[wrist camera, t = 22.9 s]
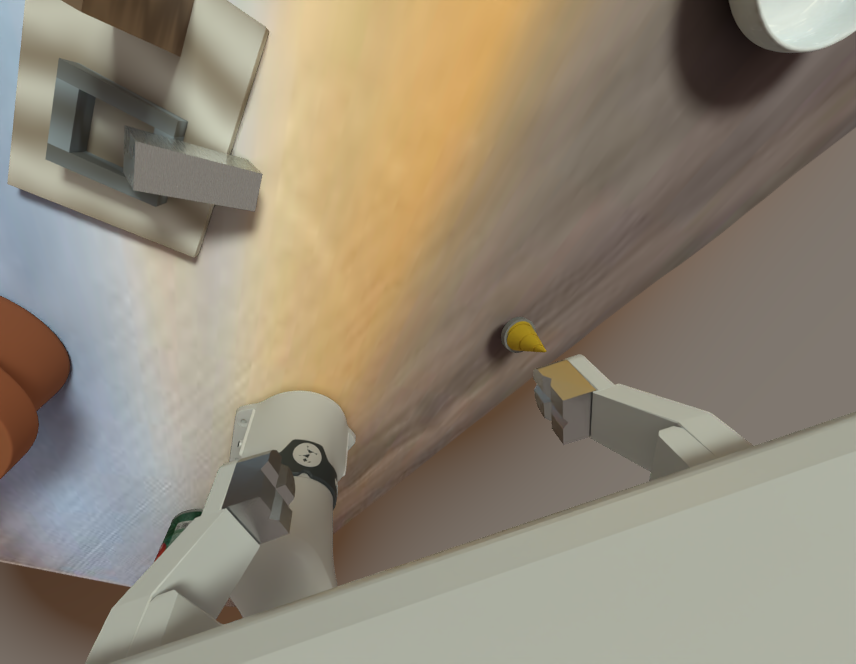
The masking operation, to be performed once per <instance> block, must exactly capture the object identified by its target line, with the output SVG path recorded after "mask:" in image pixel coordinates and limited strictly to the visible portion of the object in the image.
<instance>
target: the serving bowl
mask: <svg viewBox="0 0 856 664" xmlns="http://www.w3.org/2000/svg"><path fill="white" fill-rule="evenodd" d="M729 4H730V8H731V12H732V15H733V17H734V19H735V22H736V23H737V25H738V27H739V29H740V30H741V31H742V33H743V34H744V35H745V36H746V37H747V38H748V39H749V40H750V41H752V42H753V43H754V44H756V45H758V46H760V47H762V48H764V49H767V50H771V51H775V52H782V53H806V52H813V51H817V50H820V49H823V48H826V47H829V46H831V45H833V44H835V43H837V42H839V41H841V40H842V39H844V38H846V37H847V36H849V35H850V34H852V33H853V32H855V31H856V0H729Z"/></svg>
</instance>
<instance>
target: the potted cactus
mask: <svg viewBox="0 0 856 664" xmlns="http://www.w3.org/2000/svg"><path fill="white" fill-rule="evenodd" d="M69 371H70V361H69V357H68V354H67V352H66V349H65V348H64V346H63V344H62V343H61V341H60V340H59V339H58V337H57V336H56V335H55V334H54V333H53V332H52V331H51V330H50V329H49V328H48V327H47V326H46V325H45V324H44V323H43V322H42V321H40V320H39V319H38V318H37V317H35V316H34V315H33V314H31V313H30V312H28V311H27V310H25V309H24V308H22V307H20V306H19V305H17V304H15V303H14V302H12V301H10V300H8V299H6V298H4V297H2V296H0V479H1V478H2V477H3V476H4V475H5V474H6V473H7V472H8V471H9V470H10V469H11V468H12V467H13V466H14V465H15V464H16V463H17V462H18V461H19V460H20V459H21V458H22V457H23V456H24V455H25V454H26V453H27V452H28V450H29V449H30V448H31V446H32V445H33V443H34V441H35V439H36V436H37V433H38V426H39V423H38V416H37V412H36V411H37V410H38V409H39V408H41V407H42V406H43V405H44V404H45V403H46V402H47V401H48V400H49V399H50V398H52V397H53V396H54V395H55V394H56V393H57V392H58V391H59V390H60V389H61V388H62V386H63V385H64V383H65V382H66V380H67V378H68V375H69Z"/></svg>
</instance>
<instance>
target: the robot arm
mask: <svg viewBox="0 0 856 664" xmlns="http://www.w3.org/2000/svg"><path fill="white" fill-rule="evenodd" d="M533 379H534V380H535V382H536V383H537V386H536V388H535V389H534V392H535V399H536V402H537V405H538V408H539V410H540V412H541V413H542V415H543V416H544V418H546V419H548V420H550V421H552V429H553V431H554V432H555V434H556V435H557V436H558V437H559V439H560V441H561V442H562V443H563V445H564V444H568V443H571V442H574V441H578V440H581V439H585V438H588V437H591V439H593V440H594V441H596V442H598V443H600V444H602V445H603V446H605V447H607V448H609V449H611V450H612V451H614V452H616V453H618V454H620V455H621V456H623V457H625V458H627V459H629V460H630V461H632V462H634V463H636V464H638V465H639V466H641V467H643V468H645V469H647V470H649V471H650V472H651V474H650V480H649V482H646V483H643V484H640V485H637V486H634V487H631V488H628V489H625V490H622V491H619V492H616V493H613V494H610V495H607V496H604V497H601V498H598V499H595V500H593V501H589V502H586V503H583V504H580V505H578V506H574V507H572V508H569V509H566V510H563V511H560V512H557V513H554V514H551V515H548V516H545V517H542V518H539V519H536V520H533V521H530V522H527V523H524V524H522V525H519V526H516V527H512V528H510V529H506V530H503V531H501V532H498V533H495V534H492V535H489V536H486V537H483V538H480V539H477V540H474V541H471V542H468V543H465V544H462V545H459V546H456V547H453V548H450V549H447V550H444V551H441V552H439V553H435V554H433V555H430V556H427V557H424V558H421V559H418V560H415V561H412V562H409V563H406V564H403V565H400V566H397V567H394V568H391V569H388V570H385V571H382V572H379V573H376V574H373V575H370V576H367V577H364V578H361V579H359V580H355V581H352V582H350V583H346V584H343V585H341V586H337V581H336V576H335V570H334V563H333V510H334V508H335V505H336V499H337V494H338V483H337V482H338V481H339V480H340V479H341V478H342V476H344V475H345V473H346V465H347V452H348V450H349V449H350V448H351V447H352V446H353V445H354V443H355V439H356V436H355V434H354V433H353V431H352V430H351V429H350V428H349V427H348V425H347V422H346V418H345V415H344V413H343V411H342V409H341V408H340V407H339V405H338V404H336V403H335V402H334V401H333V400H331V399H330V398H328V397H326V396H324V395H321V394H318V393H315V392H309V391H289V392H283V393H280V394H277V395H274V396H272V397H270V398H268V399H266V400H264V401H262V402H260V403H256V404H249V405H244V406H241V407H239V408H238V409H237V411H236V416H235V424H234V431H233V438H232V446H231V453H230V461H229V463H225V464H223V465H222V466H221V467H220V468H219V470H218V472H217V475H216V478H215V480H214V483H213V486H212V488H211V491H210V493H209V496H208V499H207V501H206V504H205V507H204V509H203V512H202V514H201V516H200V517H197V518H195V519H194V520H193V521H192V522H191V523H190V524H189V525H188V526H187V528H186V529H185V530H184V531H183V532H182V533H181V534H180V535H179V536H178V537H177V538H176V539H175V541H174V542H173V543H172V544H171V545H170V546H169V547H168V548H167V549H166V550H165V551H164V552H163V554H162V555H161V556H160V557H159V558H158V559H157V560H156V561H155V562H154V563H153V564H152V565H151V567H150V568H149V569H148V570H147V571H146V572H145V573H144V574H143V575H142V576H141V577H140V578H139V580H138V581H137V582H136V583H135V584H134V585H133V586H132V587H131V588H130V589H129V590H128V591H127V593H126V594H125V595H124V596H123V597H122V598H121V599H120V600H119V601H118V602H117V603H116V605H115V606H114V607H113V608H112V609H111V611H110V614H109V615H108V617H107V620H106V622H105V624H104V626H103V628H102V630H101V632H100V634H99V636H98V638H97V640H96V642H95V644H94V646H93V648H92V650H91V652H90V654H89V656H88V658H87V660H86V662H85V664H856V412H853V413H850V414H847V415H844V416H841V417H838V418H835V419H832V420H829V421H827V422H824V423H821V424H818V425H815V426H812V427H809V428H806V429H803V430H800V431H797V432H794V433H791V434H789V435H785V436H783V437H779V438H776V439H773V440H770V441H767V442H764V443H761V444H758V445H755V446H753V445H752V444H751V443H749V442H748V441H747V440H745V439H744V438H743V437H742V436H740V435H739V434H738V433H736V432H735V431H734V430H733V429H731V428H730V427H729V426H727V425H726V424H725V423H723V422H722V421H721V420H719V419H718V418H717V417H716V416H714V415H713V414H712V413H710V412H707V411H704V410H700V409H698V408H694V407H691V406H688V405H685V404H682V403H678V402H675V401H672V400H669V399H666V398H663V397H660V396H656V395H653V394H650V393H647V392H644V391H640V390H637V389H634V388H631V387H628V386H624V385H622V384H617V385H614V384H613V383H612V382H611V381H610V380H609V379H608V378H606V377H605V376H604V375H603V374H602V373H601V372H600V371H599V370H598V369H597V368H596V367H595V366H594V365H593V364H591V363H590V362H589V361H588V360H587V359H586V358H585V357H584V356H583V355H580V354H579V355H576V356H573V357H569V358H566V359H564V360H561V361H558V362H555V363H551V364H548V365H545V366H542V367H539V368H536V369H534V371H533ZM242 419H245V420H242ZM229 597H230V598H231V600H232V601H233V603H234V604H235V605H236V607H237V608H238V610H239V611H240V613H241V615H242V617H243V618H242V619H240V620H236V621H234V622H231V623H228V624H221V623H219V622H218V621H216V619H217V617H218V615H219V614H220V612H221V610H222V608H223V607H224V605H225V604H226V602H227V600H228V599H229Z"/></svg>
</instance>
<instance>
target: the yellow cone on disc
mask: <svg viewBox="0 0 856 664" xmlns="http://www.w3.org/2000/svg"><path fill="white" fill-rule="evenodd" d="M501 342H502V344H503V346H504V347H505V348H506V349H508V350H509V351H511V352H514V353H519V352H522V351H532V352H547V351H546V350H545V348H544V346H543V344H542V343H541V341H540V339H539V338H538V336H537V334H536V330H535V326H534V324H533V323H532V322H531V321H530V320H528V319H526V318H523V317H516V318H513V319H511V320H510V321H509V322H507V324H506V325H505V326H504V328H503V330H502V333H501Z"/></svg>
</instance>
